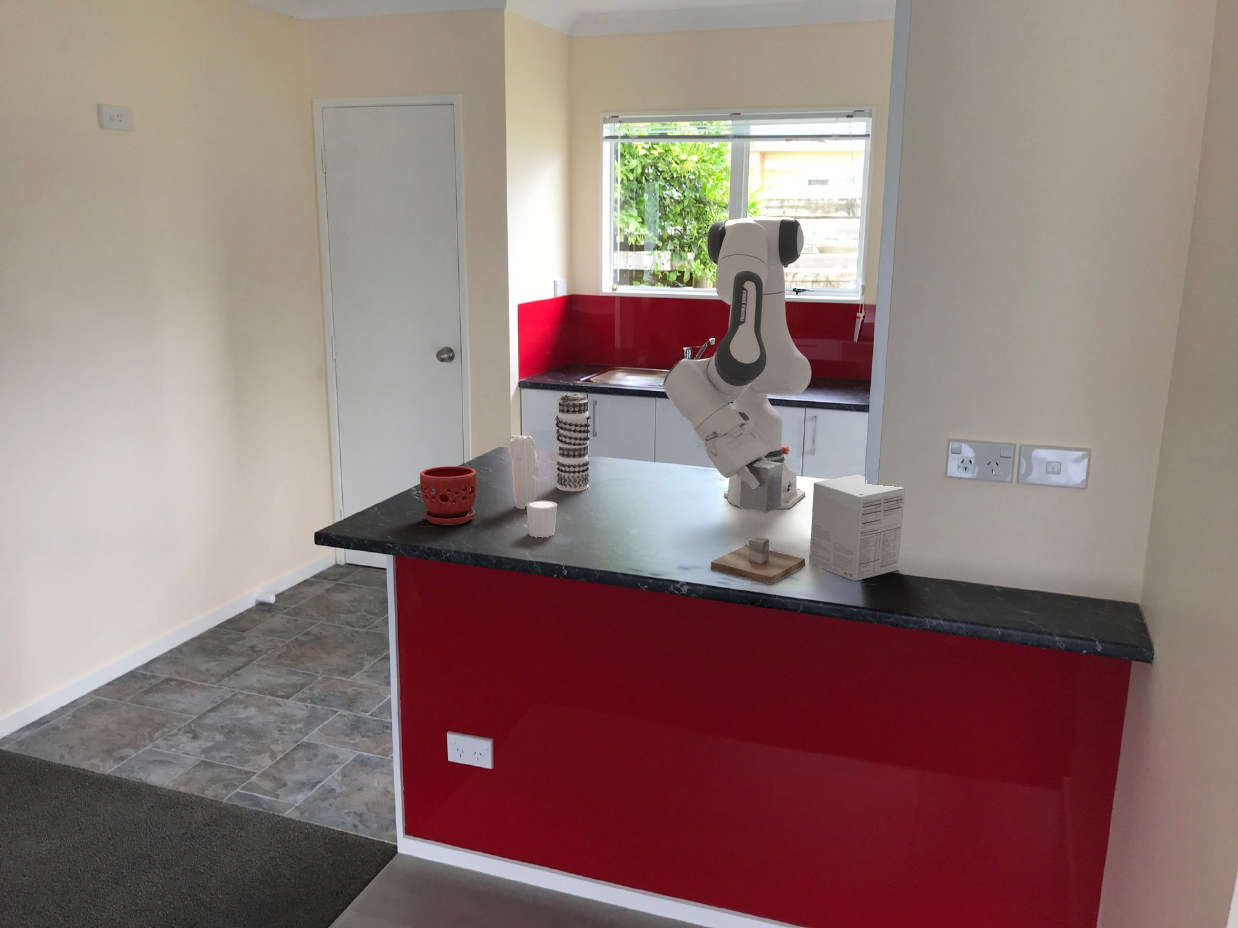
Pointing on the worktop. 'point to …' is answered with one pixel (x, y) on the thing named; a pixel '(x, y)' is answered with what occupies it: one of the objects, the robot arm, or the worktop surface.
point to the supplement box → (856, 527)
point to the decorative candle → (572, 442)
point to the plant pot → (449, 494)
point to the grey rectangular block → (763, 486)
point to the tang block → (758, 562)
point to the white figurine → (524, 469)
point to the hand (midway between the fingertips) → (764, 482)
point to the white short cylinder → (541, 518)
